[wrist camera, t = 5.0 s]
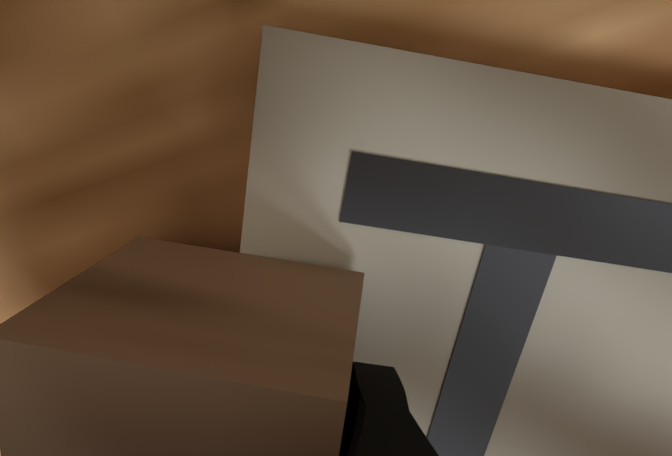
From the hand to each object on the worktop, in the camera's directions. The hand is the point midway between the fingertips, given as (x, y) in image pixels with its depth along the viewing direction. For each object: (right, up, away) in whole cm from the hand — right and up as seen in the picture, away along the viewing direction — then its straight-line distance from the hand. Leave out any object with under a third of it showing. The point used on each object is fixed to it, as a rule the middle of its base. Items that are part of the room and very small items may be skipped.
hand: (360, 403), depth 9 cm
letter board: (+3, -1, +3) cm, 4 cm away
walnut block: (-3, +1, +1) cm, 3 cm away
